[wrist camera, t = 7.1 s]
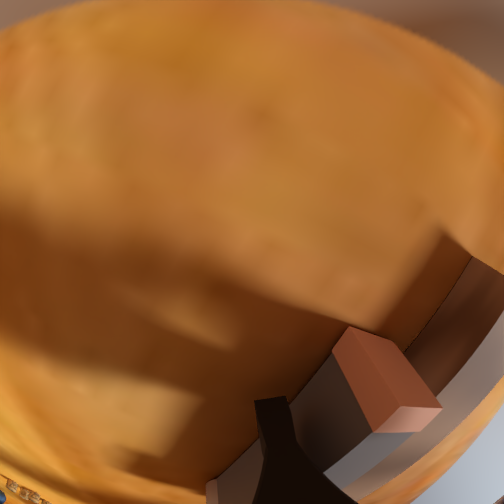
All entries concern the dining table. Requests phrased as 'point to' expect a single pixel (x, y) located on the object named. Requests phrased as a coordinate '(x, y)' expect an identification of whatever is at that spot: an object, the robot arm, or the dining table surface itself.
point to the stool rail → (450, 366)
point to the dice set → (25, 492)
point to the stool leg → (344, 416)
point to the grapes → (2, 497)
